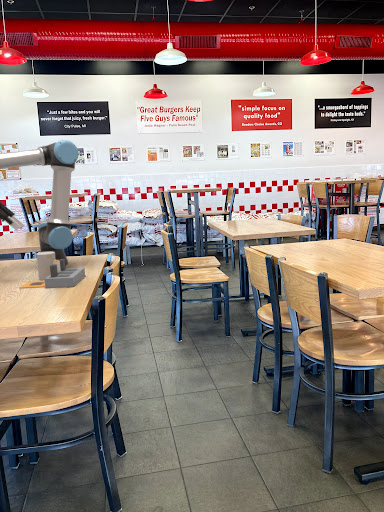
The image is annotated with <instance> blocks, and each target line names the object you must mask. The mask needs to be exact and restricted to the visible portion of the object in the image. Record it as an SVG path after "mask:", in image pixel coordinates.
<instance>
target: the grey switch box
mask: <svg viewBox="0 0 384 512" xmlns="http://www.w3.org/2000/svg"><path fill="white" fill-rule="evenodd" d="M59 261H60V269H61V272H59V273H58V272H57V264H52V265H50V272H51V275H49V276H48V277H46V278H45V279H44V280H43V281H45V287H44V288H45V289H57V288H58V289H59V288H74V287H75V286H76V285H77V284H79V282H81V281H82V280H83V279H84V278H85V277H86V269H85V267H75V268H73V267H72V268H71V267H70V268H67V267H66V265H65V259H60V260H59Z"/></svg>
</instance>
